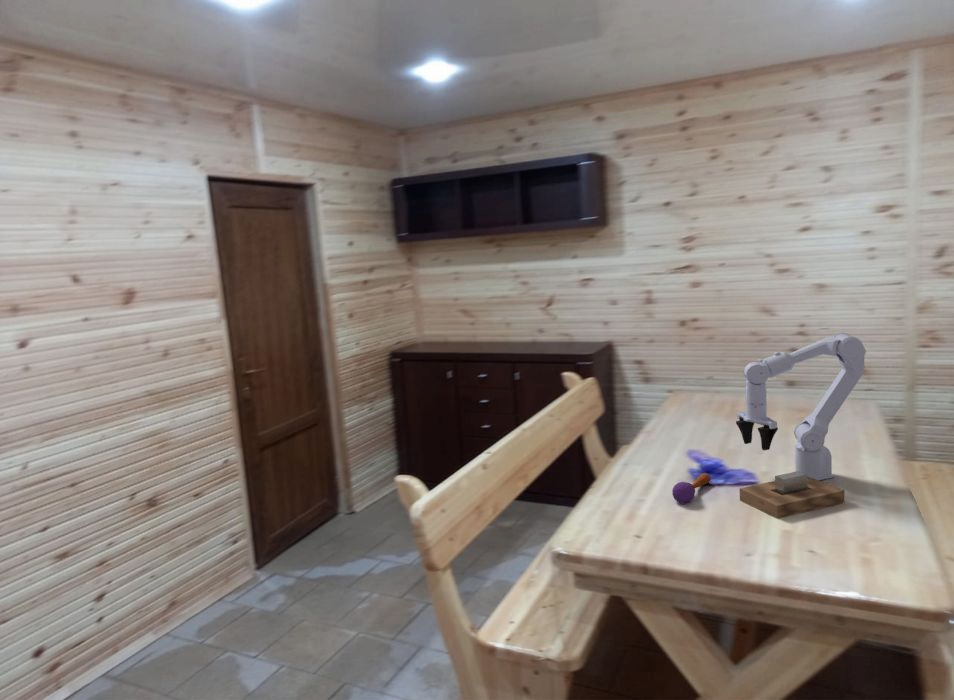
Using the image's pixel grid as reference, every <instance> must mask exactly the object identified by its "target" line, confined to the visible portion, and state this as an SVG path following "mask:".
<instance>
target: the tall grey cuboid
mask: <svg viewBox="0 0 954 700" xmlns="http://www.w3.org/2000/svg"><path fill="white" fill-rule="evenodd" d="M774 481H775V492H776V493H778V494H780V495H786V494H791V493H795V492H800V491H804V490H807V474H805V473H803V472H800V471H797V472H796V471H793V472H788V473H783V474H779V475H778V474H777V475H775V477H774Z"/></svg>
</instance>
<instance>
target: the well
mask: <svg viewBox="0 0 954 700" xmlns="http://www.w3.org/2000/svg"><path fill="white" fill-rule="evenodd" d="M845 494H846V493H845V489H842V488H839V487H836V486H834V485H831V484H829V483H827V482H824V481H822V480H816V479H813V478H811V477H808V476H807V490H804V491H800V492H795V493H791V494H786V495H780V494H778V493H776V492H775V480H772V481H768V482H763V483H758V484H754V485H748V486H745V487H744V486H743V487H740V488H739V501H740V502H742V503H745V504H747V505H749V506H751V507H753V508H755V509H757V510H759V511H760V512H763V513H764V514H767V515H769V516H771V517H773V518H774V519H778V520H779V519H782V518H785V517H790V516H795V515H799V514H803V513H807V512H812V511H816V510H821V509H824V508H829V507H833V506H837V505H842V504H845Z"/></svg>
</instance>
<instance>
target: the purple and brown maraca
mask: <svg viewBox="0 0 954 700" xmlns="http://www.w3.org/2000/svg"><path fill="white" fill-rule="evenodd" d="M710 480H711V481H712V479H711V475H709V474H708V473H706V472H704V473H701V474H700V475H699V476H698V477H697V478H696V480H694V481H693V483H690V482H686V481H680V482H677V483H675V484H674V485H673V488H672V491H671V493H672V497H673V498H674V500H675V501H676V502H677V503H679V504H683V505H686V504H690V503H691V502H692V501H693V500H694V499H695V493H696V488H699V487H703V486H705V485H708V483H709V481H710ZM711 481H710V482H711ZM709 484H710V483H709Z"/></svg>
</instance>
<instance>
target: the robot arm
mask: <svg viewBox="0 0 954 700" xmlns="http://www.w3.org/2000/svg"><path fill="white" fill-rule="evenodd" d="M866 352H867V350H866V347H865V346H864V344H863V343H862V341H861V339H859V338H858V337H854V336H851V335H850V334H848V333H845V332H840V333H837V334H835V335H829V336H827V337H825V338H823V339H820V340H818V341H815V342H813V343H811V344H809V345H807V346H804V347H801V348H800V349H797V350H795V351H793V352H790V353H788V352H785V351H782V352H779V351H776V352H774V353H773V354H774V355H771V356H769V357H766V358H763V359H762V358H758V359H757V361H758V362H755V361H752V362H749V363H748V364H746V366H745V367H744V370H743V372H742V373H743V376H744V377H745V378H746V379H745V411H738V412H736V419H738V420H736V421H735V424H736V425H737V427H738V429H739V431H740V434H741V437H742V440H743V444H745V445H747V444H752V440H753V431H754V430H753V429H754V426H755V424H756V425H760V427H757V431H758V432H759V437H760V441H761V442H760V444H761V450H762V451H769V450H770V448H771V445H772V442H773V439H774V437H775V435H776V433H777V431H778V430H779V428H778V422H777V421H776V420H774V419H772V418H770V417H768V415H767V413H768V412H767V409H768V408H767V407H768V406H767V387H766V386H767V385H766V384H767V383H766V382H767V381H768V379H769V378H773V377H775V376H778V375H782V374H783V373H786V372H790V371H791V370H792V369H793V368H794V365H795V364H799V363H802V362H804V361H807V360H811V359H812V358H815V357H819V356H822V355H826V356H832V357H836V358H838V359H837V360H838V362H839V364H840V366H841V370H840V371H839V372H838V374H837V375H836V377H835V379H834V380H833V381H832V383H831V385H830V387H828V389H827V390H826V392H825V393H824V395H823V396H822V398H821V400H820V401H819V403H818V404H817V406H816V407H815V409H814V410H813V412H812V413H811V414H809V415H807V416H806V417H805V418H804V420H803V421H802V422H800V423H798V424H797V425H796V426H795V427H794V430H793V435H794V437H795V439H796V440H797V441H796V444H795V448H794V451H795V453H794V454H795V460H794V461H795V463H794V464H795V466H794V467H795V472H797V471H800V472H803V473H805V474H807V476H808V477H811V478H813V479H816V480H819V481H823V480H827V479H831V478H834V477H835V475H833V474H832V469H833V468H832V467H833V466H832V465H833V464H832V463H833V462H832V460H833V459H832V453H831V451H830V449H829V448H828V447H826V446H825V439H826V435H827V434H828V432H829V425H830V423H831V422H832V421H833V419H834V417H835V416H836V414H837V413H838V411H839V410H840V408H841V407H842V405H844V403H845V401H846V399H847V398H848V396H849V395H850V394H851V393H852V390H853V389H854V387H856V385H857V383H858V382H859V381H860V379H861V378H862V376H863V375H864V373H865V356H866V354H867V353H866Z"/></svg>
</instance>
